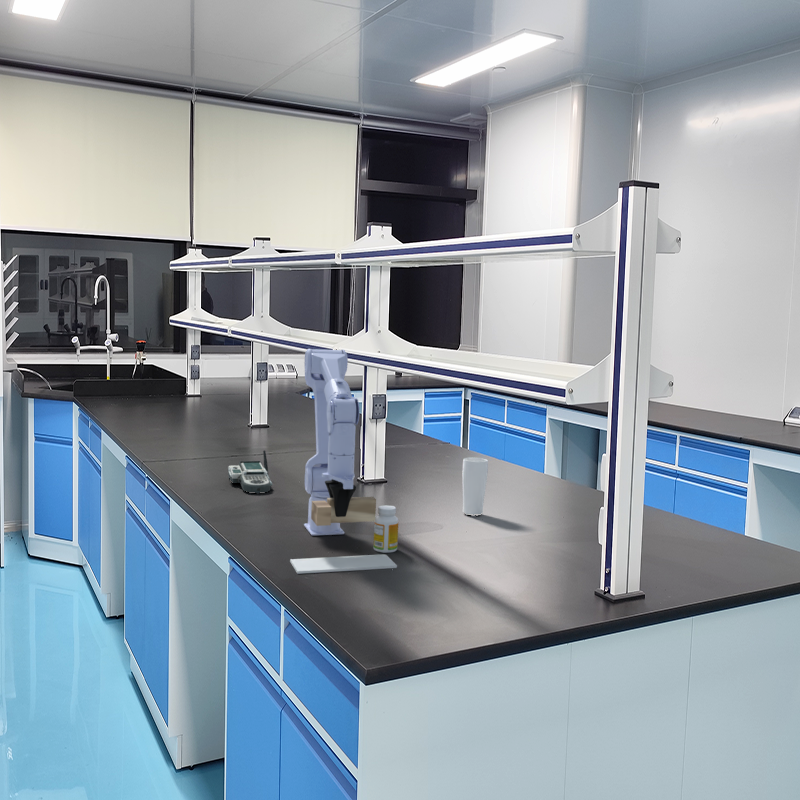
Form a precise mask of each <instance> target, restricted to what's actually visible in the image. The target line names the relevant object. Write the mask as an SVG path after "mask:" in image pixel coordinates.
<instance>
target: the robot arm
mask: <svg viewBox="0 0 800 800" xmlns="http://www.w3.org/2000/svg"><path fill="white" fill-rule="evenodd" d="M348 358H349V357H348V353H347V352H346V350H345V349H316V348H315V349H314V348H313V349H312V348H307V349H306V350H305V353H304V381H305V385H306V386H308V387H309V388H311V389H312V392H313V397H314V417H315V420H314V422H315V447H316V448H315V452H316V453H315V454H314V455H313V456H312V457H310V458H309V459H308V460H307V462H306V463H305V465H304V467H305V470H304V471H305V472H304V489H305V491H306V493H307V494H309V495H310V497H309V498H308V510H307V513H308V514H307V515H308V516H307V523H303V526H304V527H305V528H306V530H307V531H308V533H309V534H310V535H311V536H332V535H333V536H334V535H335V536H336V535H345V531H344V530H343V529H342V528H341V523H331V525H325V526H317V525H316V524H315V523H314V522H313V520H312V519H311V509H312V501H326V502H327V498H333V499H334V508H335V514H336V517H345V516H346V514H347V510H348V506H349V502H350V500H351V497H353V495H354V493H355V491H356V489H357V486H356V485H355V484H354V479H355V452H356V451H355V449H356V431H357V430H356V429H357V428H356V427H357V425H359V424H358V423H359V420H360V413H361V411H360V402H359V399H358V397H355V396H352V395H353V394H352V392H351V389H350V388H351V387H350V385H349V383H348V382H347V381H346V380H345V377H346V374H347V371H348V364H349V363H348V361H349V360H348Z"/></svg>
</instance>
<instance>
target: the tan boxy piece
mask: <svg viewBox="0 0 800 800" xmlns="http://www.w3.org/2000/svg"><path fill="white" fill-rule="evenodd" d="M376 508H377V498H375V497H374V496H352V497H351V500H350V502H349V506H348V510H347V514H346V516H345V517H336V514H335V508H334V499H333V498H327V502H326V501H312V509H311V519H312V520H313V522H314V523H315V524H316V525H317V526H325V525H331V523H340V524H342V523H345V524H346V523H365V522H366V523H367V522H370V523H371V522H374V521H375V517H376V515H377V513H376V510H377V509H376Z"/></svg>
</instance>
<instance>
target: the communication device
mask: <svg viewBox="0 0 800 800" xmlns="http://www.w3.org/2000/svg"><path fill="white" fill-rule="evenodd" d="M262 453H263V465H262V461H260V460H240V461H239V462H238V465H228V466H227V472H228V474H227V475H228V476H229V477H228V476H227V477H228V479H229V478H230V480H231V481H232V482H233V483H240V486H241V488H242V490H243V492H245V491H247V492H255V493H260V492H267V493H269V492H270V490H271V486H273V482H272V481H271V479H270V477H269V468H268V466H269V465H268V459H267V453H266V450H263V451H262ZM230 480H229V481H230ZM268 491H269V492H268Z"/></svg>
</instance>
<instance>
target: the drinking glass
mask: <svg viewBox="0 0 800 800" xmlns="http://www.w3.org/2000/svg"><path fill="white" fill-rule="evenodd" d="M488 471H489V460H488V459H486V458H482V457H472V456H471V457H464V458H463V460H462V470H461V472H462V473H461V475H462V476H461V479H462V480H461V482H462V484H461V485H462V513H463V512H464V513H466V514H473V515H474V514H481V513H482V514H483V512H484V503H485V496H486V488H487V482H488ZM464 513H463V514H464Z"/></svg>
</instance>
